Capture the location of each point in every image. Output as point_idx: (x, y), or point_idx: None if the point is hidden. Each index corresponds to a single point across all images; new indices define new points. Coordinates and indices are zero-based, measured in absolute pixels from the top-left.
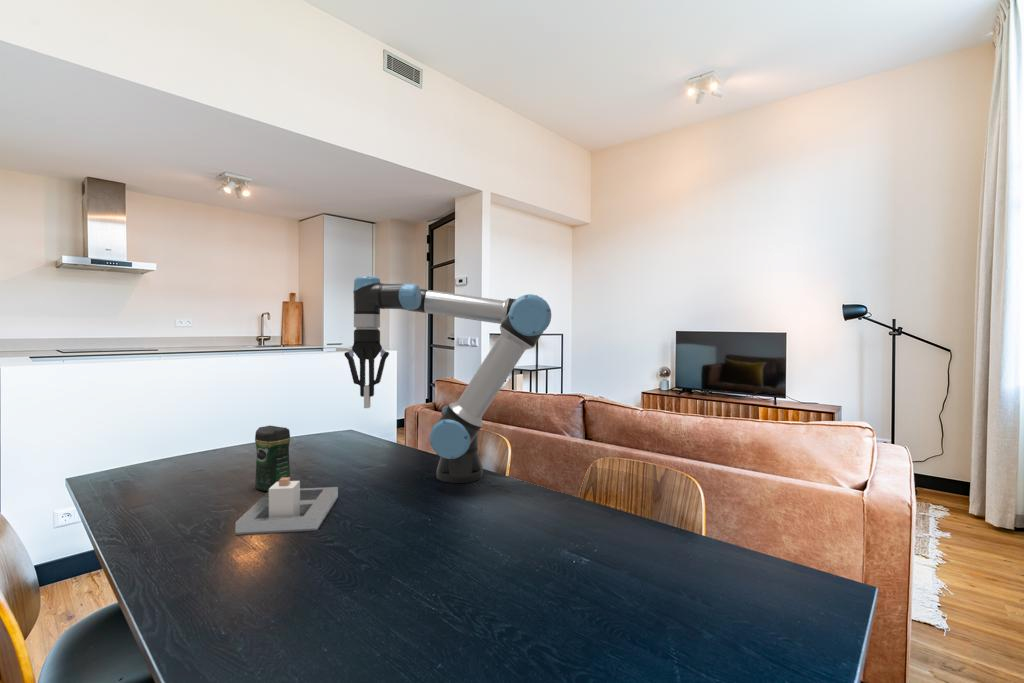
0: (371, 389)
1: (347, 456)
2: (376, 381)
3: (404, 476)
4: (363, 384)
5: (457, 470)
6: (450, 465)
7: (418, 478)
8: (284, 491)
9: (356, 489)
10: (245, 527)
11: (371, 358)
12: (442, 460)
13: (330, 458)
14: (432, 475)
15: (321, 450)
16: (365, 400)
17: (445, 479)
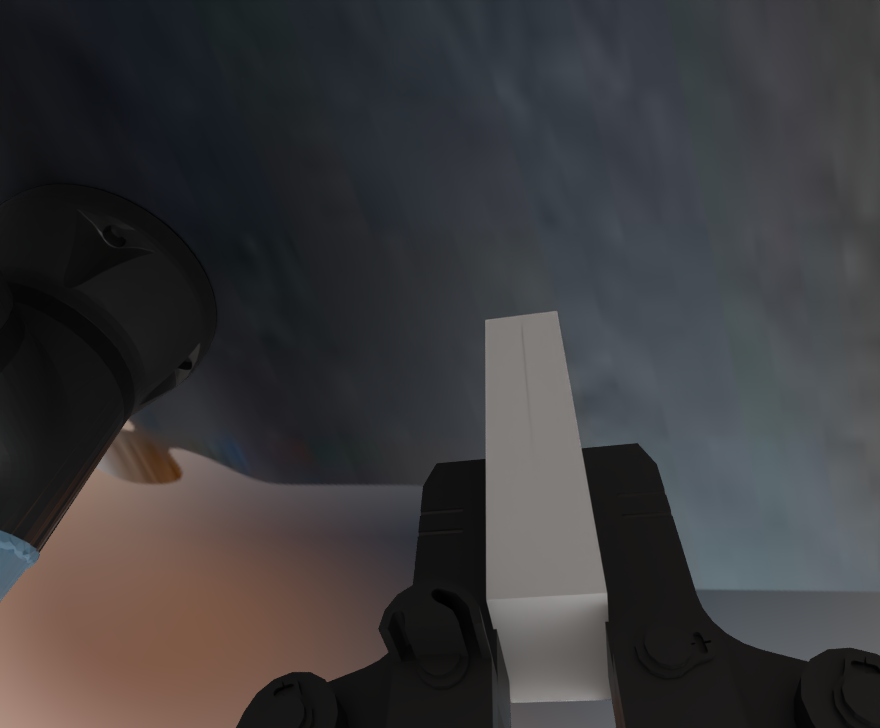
0: (451, 566)
1: (709, 521)
2: (298, 726)
3: (366, 280)
4: (626, 643)
5: (25, 218)
6: (57, 241)
7: (286, 254)
8: None
9: (557, 66)
10: None
11: None
12: (117, 289)
13: (784, 500)
14: (237, 297)
15: (838, 584)
16: (542, 381)
17: (118, 203)
